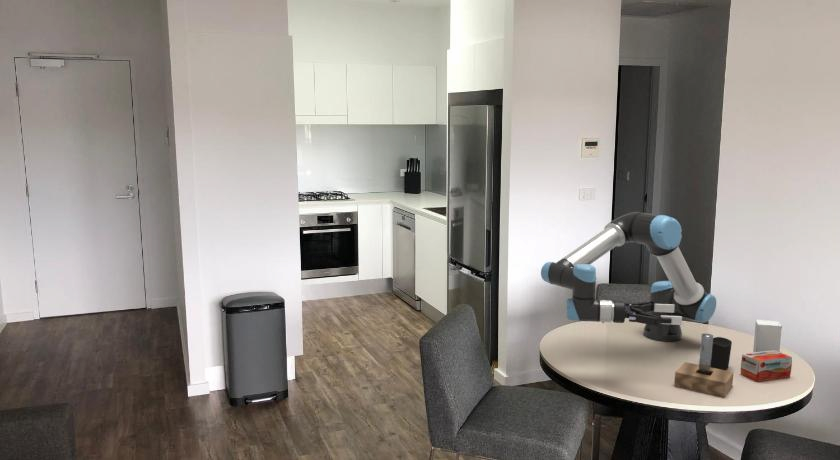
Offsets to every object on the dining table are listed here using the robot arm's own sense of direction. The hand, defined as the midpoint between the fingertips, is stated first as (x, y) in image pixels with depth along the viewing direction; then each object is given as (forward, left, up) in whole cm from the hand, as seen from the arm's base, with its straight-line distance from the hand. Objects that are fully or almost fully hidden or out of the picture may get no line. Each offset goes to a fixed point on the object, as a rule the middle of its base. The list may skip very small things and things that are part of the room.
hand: (677, 314), depth 230 cm
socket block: (+9, +5, -25) cm, 27 cm away
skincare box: (+22, +43, -25) cm, 54 cm away
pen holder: (+8, +27, -25) cm, 38 cm away
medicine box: (+24, +28, -25) cm, 45 cm away
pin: (+9, +5, -25) cm, 27 cm away
